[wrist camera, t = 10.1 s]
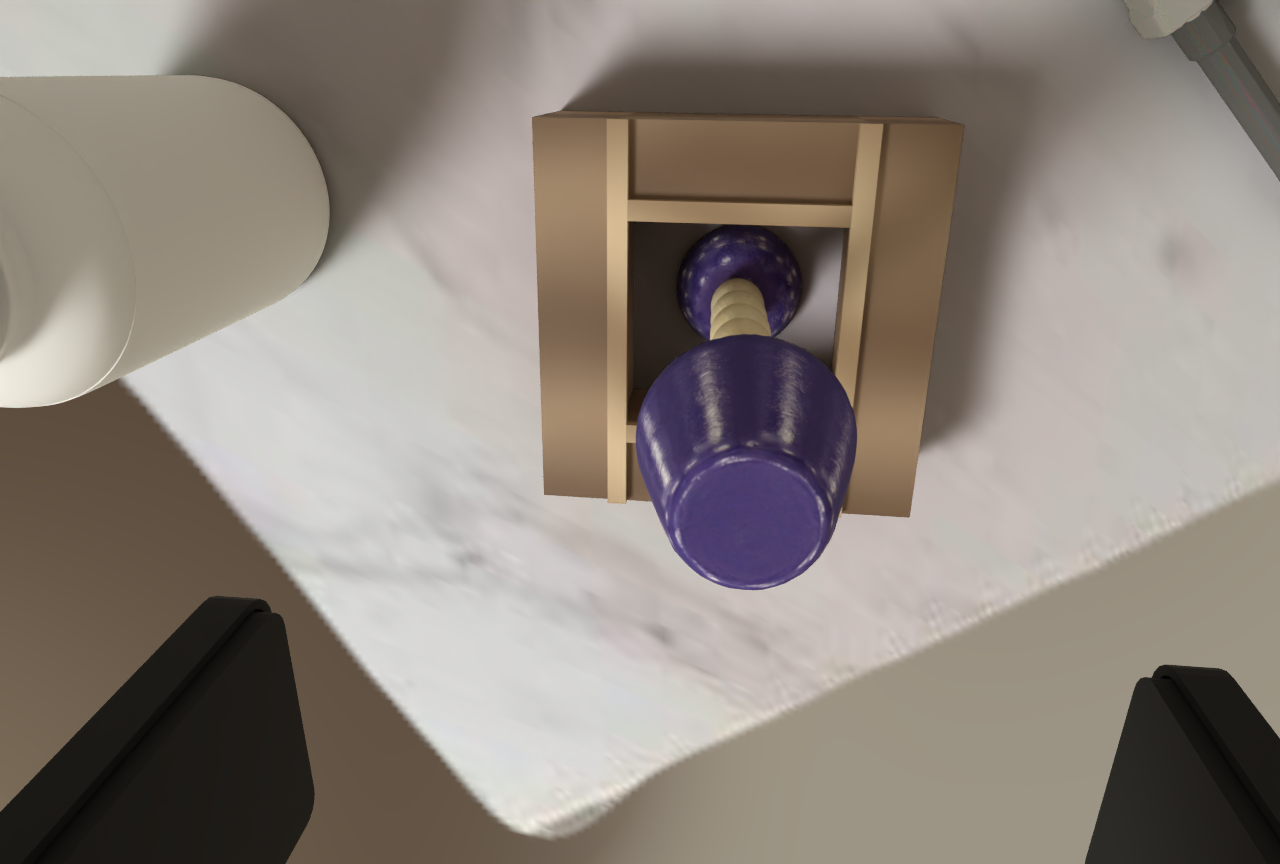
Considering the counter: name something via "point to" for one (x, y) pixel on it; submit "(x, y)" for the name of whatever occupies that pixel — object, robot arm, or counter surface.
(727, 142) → the tan wooden square frame
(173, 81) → the pill bottle
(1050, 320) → the counter surface
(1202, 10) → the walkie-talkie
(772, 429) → the toy lamp
